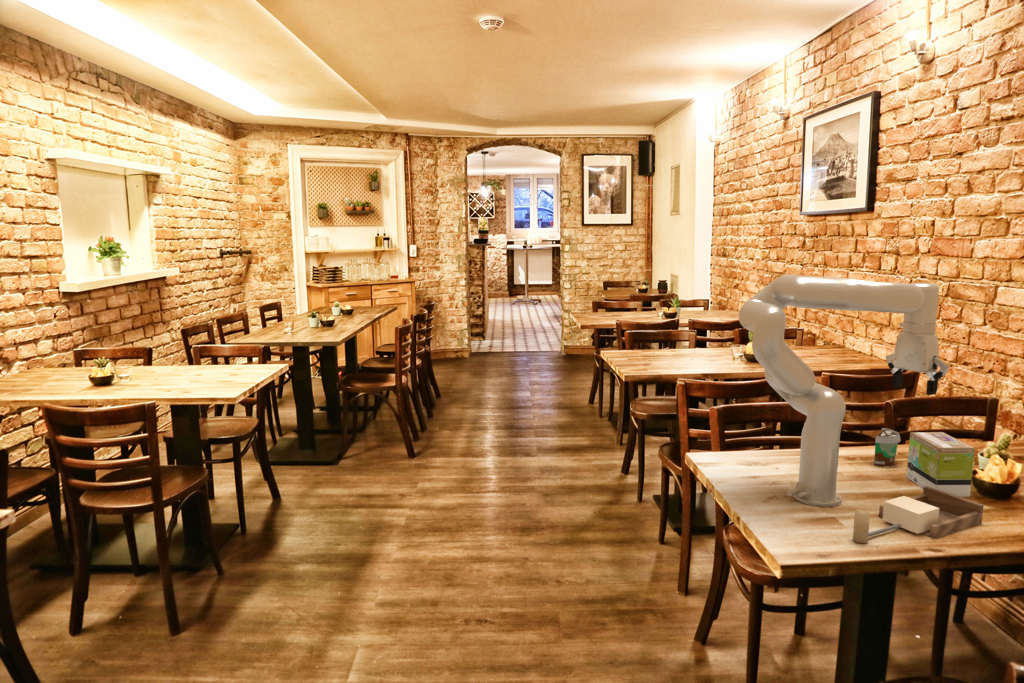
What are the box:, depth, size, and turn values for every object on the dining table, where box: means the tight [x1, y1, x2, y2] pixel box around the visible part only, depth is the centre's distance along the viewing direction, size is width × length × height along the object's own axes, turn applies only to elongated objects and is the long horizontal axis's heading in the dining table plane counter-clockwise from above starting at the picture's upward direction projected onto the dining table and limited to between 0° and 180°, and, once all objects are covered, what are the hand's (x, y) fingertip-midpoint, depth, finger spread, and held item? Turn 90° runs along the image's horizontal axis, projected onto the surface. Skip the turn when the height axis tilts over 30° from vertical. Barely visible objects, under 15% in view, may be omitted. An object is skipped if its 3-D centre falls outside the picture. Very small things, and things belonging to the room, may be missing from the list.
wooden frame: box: [878, 486, 984, 540], centre depth 169 cm, size 19×14×5 cm
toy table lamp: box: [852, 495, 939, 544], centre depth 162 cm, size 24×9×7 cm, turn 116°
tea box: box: [906, 431, 975, 498], centre depth 191 cm, size 15×10×15 cm
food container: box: [873, 427, 901, 467], centre depth 212 cm, size 12×6×10 cm, turn 143°
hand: (913, 390), depth 181 cm, fingers open, 9 cm apart
